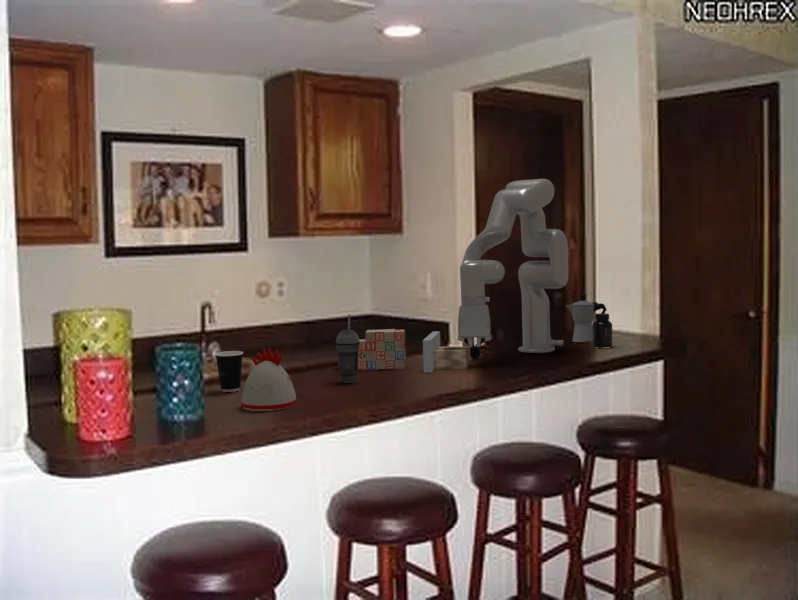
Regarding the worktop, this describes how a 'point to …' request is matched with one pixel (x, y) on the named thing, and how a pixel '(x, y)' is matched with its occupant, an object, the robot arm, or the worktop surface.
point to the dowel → (469, 348)
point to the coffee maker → (584, 318)
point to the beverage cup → (348, 354)
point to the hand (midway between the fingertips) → (475, 358)
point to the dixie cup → (229, 369)
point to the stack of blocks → (382, 350)
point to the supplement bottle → (602, 331)
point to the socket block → (451, 358)
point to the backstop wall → (430, 350)
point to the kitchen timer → (268, 384)
